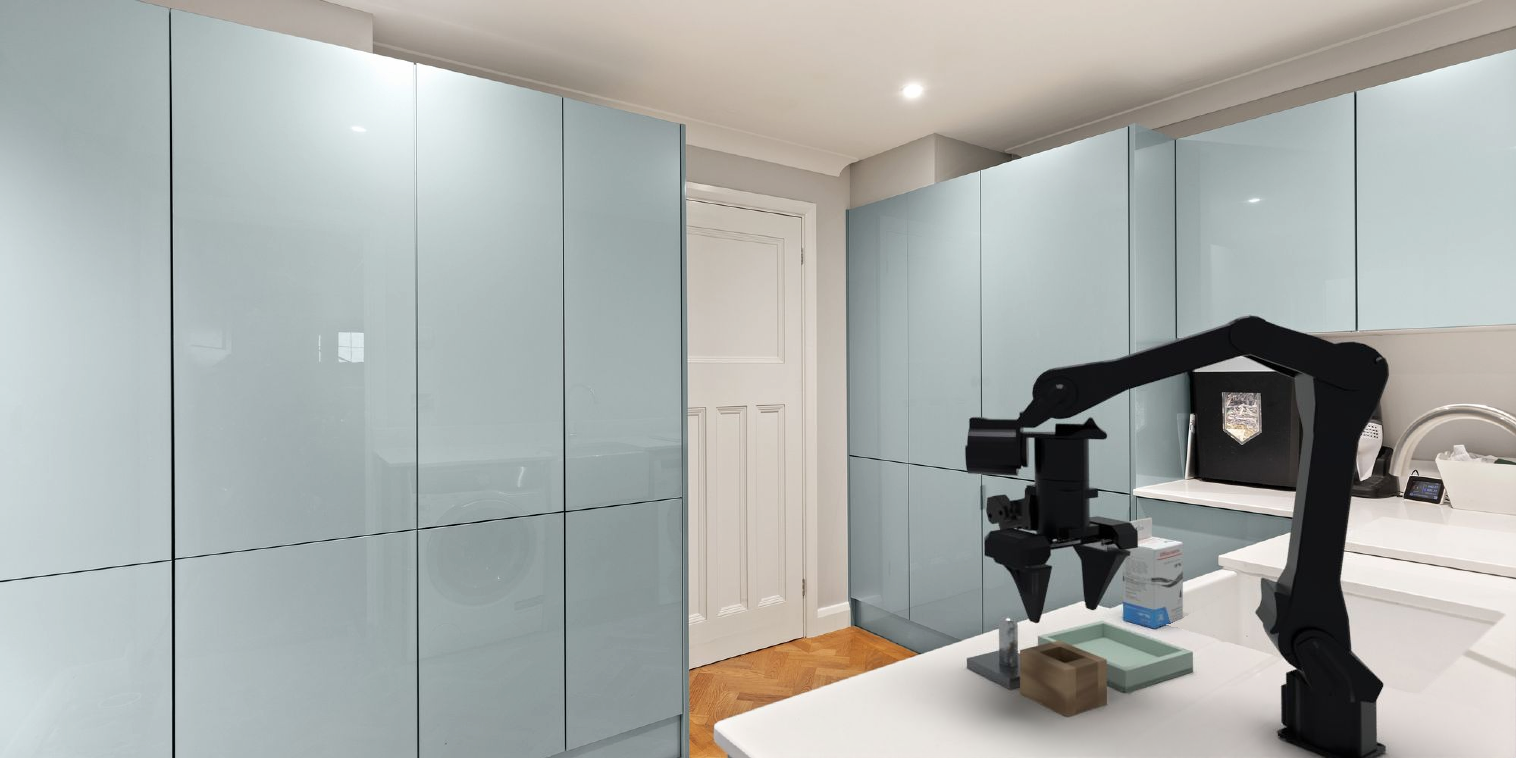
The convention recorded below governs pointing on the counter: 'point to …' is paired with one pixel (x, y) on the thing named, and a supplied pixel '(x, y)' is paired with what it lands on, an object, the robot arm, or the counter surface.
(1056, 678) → the walnut block
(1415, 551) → the counter surface
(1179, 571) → the ink box
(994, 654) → the stand
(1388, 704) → the counter surface
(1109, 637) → the sage tray
